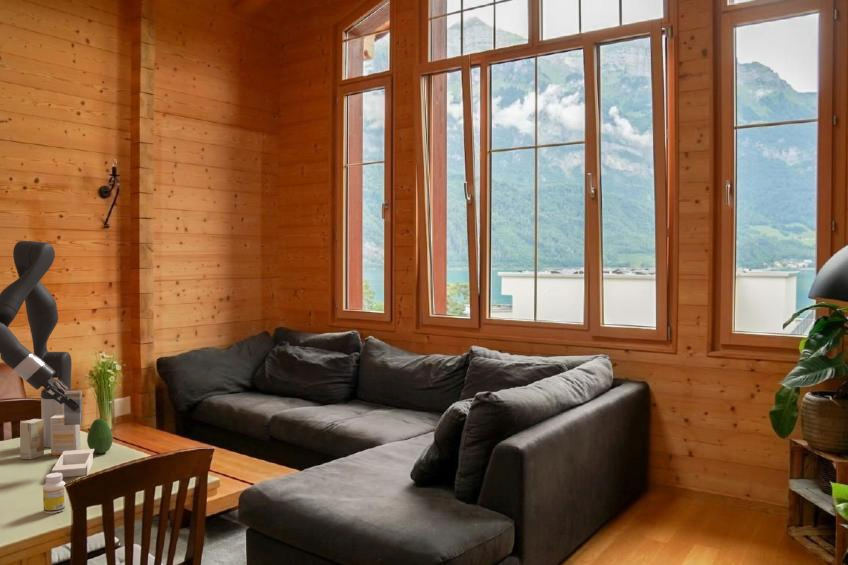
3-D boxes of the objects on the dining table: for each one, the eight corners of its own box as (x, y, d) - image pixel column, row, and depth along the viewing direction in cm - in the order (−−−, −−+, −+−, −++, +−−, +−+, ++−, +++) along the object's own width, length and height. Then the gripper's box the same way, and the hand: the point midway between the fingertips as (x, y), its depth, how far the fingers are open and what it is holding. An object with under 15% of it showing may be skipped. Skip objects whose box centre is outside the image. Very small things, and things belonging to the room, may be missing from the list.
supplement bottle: (48, 507, 191) (48, 471, 191) (69, 506, 192) (69, 471, 191) (39, 514, 186) (39, 478, 185) (61, 514, 186) (60, 477, 186)
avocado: (99, 449, 247) (99, 415, 246) (117, 451, 244) (117, 417, 244) (81, 455, 239) (81, 420, 239) (100, 457, 237) (99, 422, 236)
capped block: (66, 422, 224) (66, 391, 223) (82, 421, 225) (81, 390, 225) (64, 425, 220) (63, 393, 219) (80, 424, 221) (79, 393, 221)
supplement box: (81, 451, 244) (80, 413, 243) (76, 455, 239) (75, 417, 239) (56, 451, 243) (55, 414, 242) (50, 455, 238) (49, 417, 238)
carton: (63, 461, 232) (63, 451, 232) (94, 459, 235) (94, 448, 235) (51, 481, 212) (51, 470, 212) (85, 479, 215) (85, 467, 215)
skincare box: (31, 459, 233) (30, 423, 233) (19, 459, 234) (19, 422, 234) (45, 454, 240) (44, 418, 239) (34, 453, 241) (33, 418, 240)
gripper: (39, 366, 212) (84, 403, 217) (48, 358, 226) (90, 393, 230) (19, 384, 211) (65, 421, 215) (30, 375, 224) (72, 410, 229)
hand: (78, 407), depth 223 cm, fingers closed on capped block, 4 cm apart
